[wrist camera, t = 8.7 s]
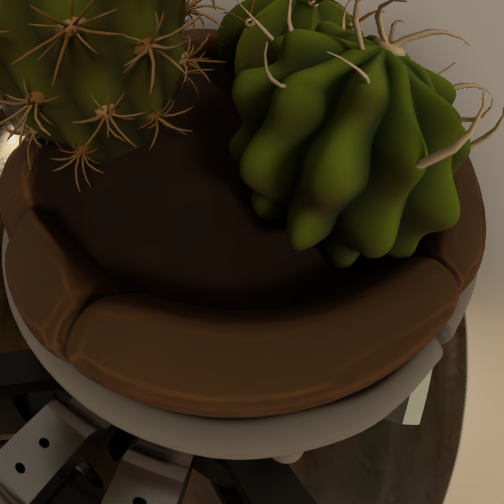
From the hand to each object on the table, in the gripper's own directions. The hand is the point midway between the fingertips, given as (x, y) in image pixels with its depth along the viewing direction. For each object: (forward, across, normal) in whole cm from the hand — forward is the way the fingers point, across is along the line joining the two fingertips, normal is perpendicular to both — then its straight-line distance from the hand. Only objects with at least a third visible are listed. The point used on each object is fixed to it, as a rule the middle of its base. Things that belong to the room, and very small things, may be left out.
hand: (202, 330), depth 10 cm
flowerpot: (+6, 0, +1) cm, 6 cm away
